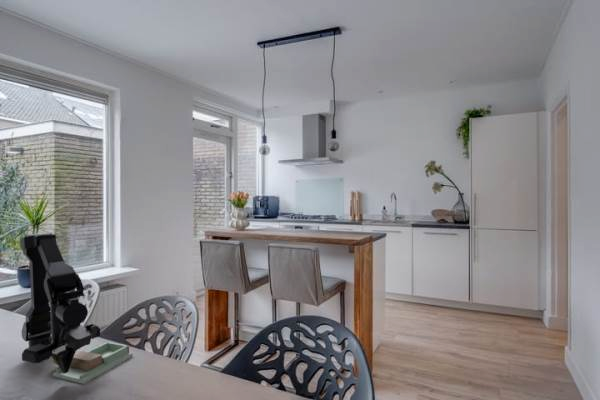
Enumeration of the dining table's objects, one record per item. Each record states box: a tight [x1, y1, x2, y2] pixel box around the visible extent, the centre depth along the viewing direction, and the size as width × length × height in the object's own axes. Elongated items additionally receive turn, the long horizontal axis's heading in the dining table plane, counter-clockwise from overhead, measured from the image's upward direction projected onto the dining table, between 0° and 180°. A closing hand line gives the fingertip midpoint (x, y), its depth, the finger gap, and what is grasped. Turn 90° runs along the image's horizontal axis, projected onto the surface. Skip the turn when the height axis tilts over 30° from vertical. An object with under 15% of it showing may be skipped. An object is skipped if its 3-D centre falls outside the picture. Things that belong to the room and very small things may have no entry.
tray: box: [52, 341, 134, 385], centre depth 107 cm, size 12×17×3 cm
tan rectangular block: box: [70, 350, 102, 371], centre depth 104 cm, size 8×4×3 cm, turn 69°
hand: (65, 372), depth 98 cm, fingers closed
